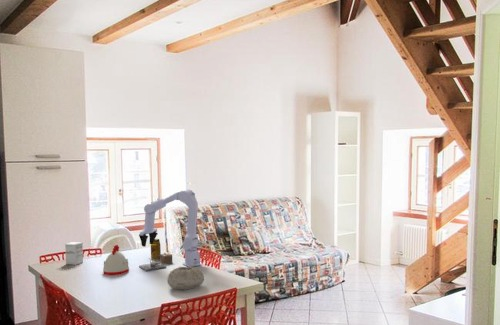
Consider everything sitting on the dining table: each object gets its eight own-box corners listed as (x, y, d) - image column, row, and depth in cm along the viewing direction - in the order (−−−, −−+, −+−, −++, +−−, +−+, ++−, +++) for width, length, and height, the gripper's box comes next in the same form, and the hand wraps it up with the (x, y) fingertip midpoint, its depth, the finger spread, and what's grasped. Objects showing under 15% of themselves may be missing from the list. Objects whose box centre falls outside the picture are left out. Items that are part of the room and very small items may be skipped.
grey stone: (187, 280, 231) (187, 261, 230) (212, 286, 219) (211, 266, 219) (160, 289, 217) (159, 269, 217) (185, 296, 206) (184, 274, 205)
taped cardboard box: (172, 262, 270) (172, 253, 270) (164, 264, 267) (163, 254, 267) (168, 261, 275) (168, 252, 274) (160, 262, 272) (160, 253, 272)
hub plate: (166, 267, 258) (166, 261, 258) (146, 271, 252) (146, 264, 251) (158, 263, 268) (158, 257, 268) (139, 267, 262) (138, 260, 262)
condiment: (148, 259, 282) (147, 240, 281) (155, 256, 290) (155, 237, 289) (158, 259, 279) (157, 240, 279) (165, 256, 287) (164, 238, 287)
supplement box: (65, 264, 273) (64, 243, 273) (73, 261, 280) (72, 241, 280) (75, 265, 271) (74, 244, 271) (83, 262, 278) (82, 241, 278)
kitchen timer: (132, 268, 259) (131, 243, 258) (123, 275, 245) (122, 248, 245) (109, 268, 260) (108, 243, 260) (99, 275, 246) (98, 248, 246)
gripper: (151, 220, 281) (149, 241, 281) (136, 223, 267) (134, 246, 268) (160, 222, 278) (158, 243, 279) (146, 225, 265) (144, 248, 265)
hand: (147, 245), depth 273 cm, fingers open, 7 cm apart
